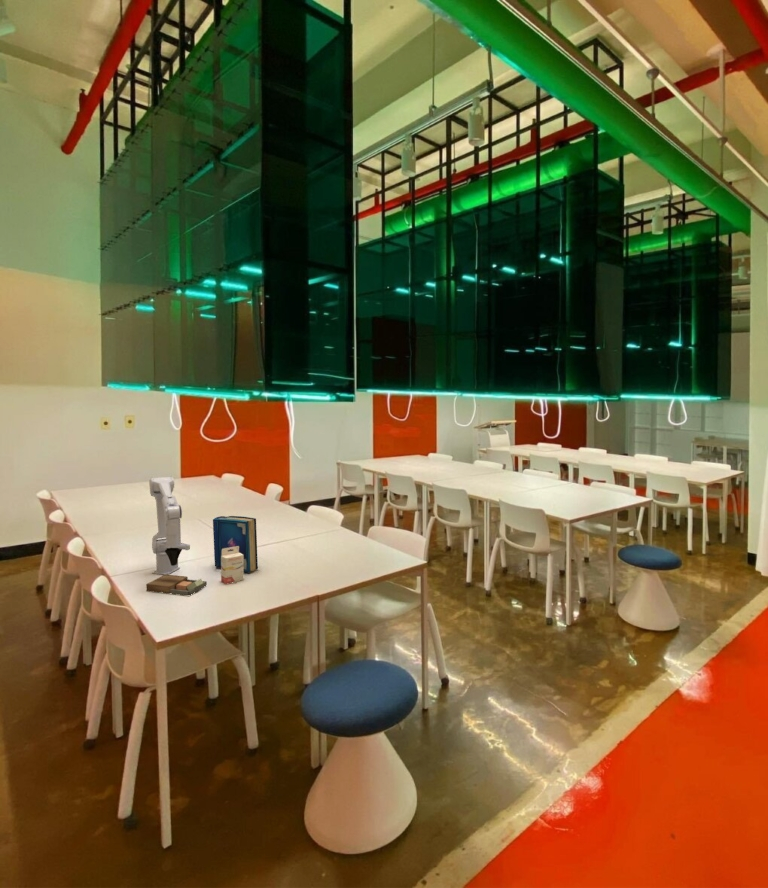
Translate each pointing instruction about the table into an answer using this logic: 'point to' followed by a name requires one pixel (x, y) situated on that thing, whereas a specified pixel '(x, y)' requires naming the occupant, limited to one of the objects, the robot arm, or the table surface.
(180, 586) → the tile
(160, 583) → the plate
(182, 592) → the tray
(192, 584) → the tile
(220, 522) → the book
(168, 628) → the table surface
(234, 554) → the ink cartridge box
